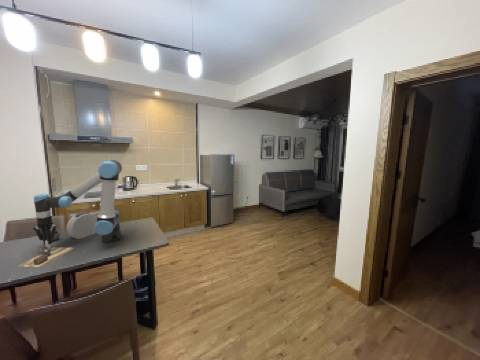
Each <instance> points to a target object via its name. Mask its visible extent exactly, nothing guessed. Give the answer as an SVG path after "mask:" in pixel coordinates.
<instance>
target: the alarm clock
mask: <svg viewBox="0 0 480 360" xmlns="http://www.w3.org/2000/svg"><path fill="white" fill-rule="evenodd" d="M96 223H97V216H96V215H95V214H93V213H90V212H87V211H84V212H79V213H77V214H74V215H73V216H71V218H70V219H69V221H68V222H67V224H66V227H65V228H66V234H67V235H68V236H69V237H70V238H72V239H76V240H81V239H84V238H87V237H89V236H92V235H94V234H96V231H95V229H94V226H95V224H96Z"/></svg>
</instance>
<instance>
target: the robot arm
mask: <svg viewBox="0 0 480 360" xmlns="http://www.w3.org/2000/svg"><path fill="white" fill-rule="evenodd" d="M122 170H123V167H122V164H121V163H120V161H118V160H115V159H114V160H105V161H103V162H101V163H100V164H99V165H98V169H97V172H96V173H95V174H93V175H92V176H90V177H89V178H87V179H85V180H84V181H83V182H82V181H81V183H80V184H78V185H76V186H74V188H72V189H70V190H69V191H68V192H66V193H64V194H61V195H58V196H50V195H49V194H48V193H40V194H35V195H34V196H33V203H34V208H35V217H36V223H37V224H36V226H34V227H33V228H32V230H34V231H35V233H36V236H37V238H38V240H39V241H43V245H45V246H46V247H47V248H48V249H52V248H51V247H52V246H51V245H52V242H53V241H52V242H51V239H53V238H54V236H55V231H57V227H58V224H54V223H53V219H52V218H53V216H52V212H51V211H52V210H51V209H56V208H69V207H71V205H72V203H73V202H76V200H77V199H79V198H80V197H82V196H83V195H85V194H86V193H88V192H89V191H92V189H94V188H95V187H97V186H98V185H100V184H101V190H100V204H99V205H100V206H99V213H98V215H97V216H96V217H97V223H96V224H95V226H94V229H95V231H96V233H97V234H98V235H101V237H100V240H101V242H102V243H106V244H107V243H114V242H115V243H116V242H117V241H120V240H122V239H123V238H124V233H123V232H122V229H121V224H120V223H121V222H120V212H119V211H118V210H115V199H116V198H115V197H116V196H115V195H116V185H117V182H118V181H119V175H120V173H121V172H122ZM50 229H52V232H50ZM96 233H95V234H96ZM46 234H47V235H46Z"/></svg>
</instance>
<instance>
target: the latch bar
mask: <svg viewBox="0 0 480 360" xmlns="http://www.w3.org/2000/svg"><path fill="white" fill-rule="evenodd" d="M38 249H39V250H38V251H39V253H40V254H42V255H47V256H50V255H51V253H50V249H51V248H50V249H48V248H47V247H46V245H44V244H43V245H39V246H38Z"/></svg>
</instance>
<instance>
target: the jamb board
mask: <svg viewBox="0 0 480 360" xmlns="http://www.w3.org/2000/svg"><path fill="white" fill-rule="evenodd" d="M75 249H76V247H60V246H59V247H58V246H57V247H52V248H50V253H51V255H50V256H47V255H42V254H41V253H40V254H38V255H36V256H35V257H32V258H31V259H28V260H27V261H24V262H22V263H20V264H18V267H21V268H23V267H24V268H25V267H27V268H28V267H29V268H44V267H46V266H47V265H50V264H51V263H53V262H54V261H56V260H57V259H59V258H61V257H63V256H65V255H66V254H68V253H69V252H71V251H73V250H75Z"/></svg>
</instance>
